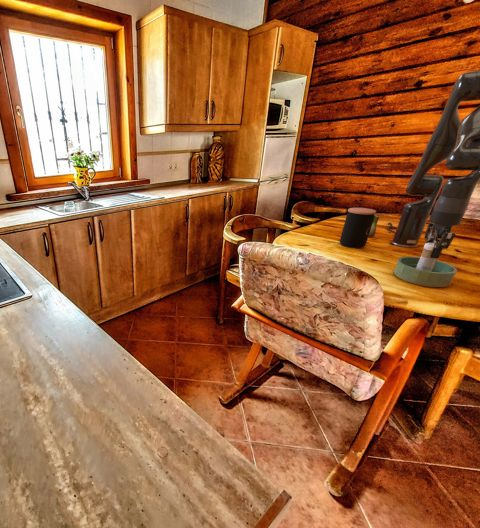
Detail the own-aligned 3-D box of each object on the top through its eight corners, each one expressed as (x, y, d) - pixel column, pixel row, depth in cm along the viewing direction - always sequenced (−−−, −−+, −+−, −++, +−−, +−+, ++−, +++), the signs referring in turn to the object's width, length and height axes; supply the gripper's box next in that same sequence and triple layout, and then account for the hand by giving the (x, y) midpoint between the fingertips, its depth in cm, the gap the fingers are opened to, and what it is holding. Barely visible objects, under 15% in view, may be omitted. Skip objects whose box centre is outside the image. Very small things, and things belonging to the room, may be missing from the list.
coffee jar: (366, 250, 134) (378, 213, 126) (339, 246, 139) (349, 211, 132) (363, 243, 142) (374, 208, 135) (338, 240, 147) (347, 207, 140)
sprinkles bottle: (430, 277, 105) (445, 244, 100) (426, 281, 103) (441, 247, 98) (414, 273, 109) (427, 241, 103) (410, 276, 107) (423, 244, 101)
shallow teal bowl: (387, 267, 116) (392, 254, 113) (439, 273, 109) (445, 259, 107) (400, 284, 103) (405, 269, 101) (458, 291, 96) (466, 276, 94)
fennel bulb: (361, 234, 154) (367, 213, 149) (372, 235, 152) (379, 213, 147) (364, 237, 149) (370, 215, 144) (375, 238, 147) (382, 216, 142)
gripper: (476, 215, 88) (453, 263, 95) (454, 205, 99) (435, 249, 106) (443, 213, 91) (424, 260, 98) (426, 204, 103) (409, 247, 110)
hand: (430, 254), depth 102 cm, fingers open, 5 cm apart
